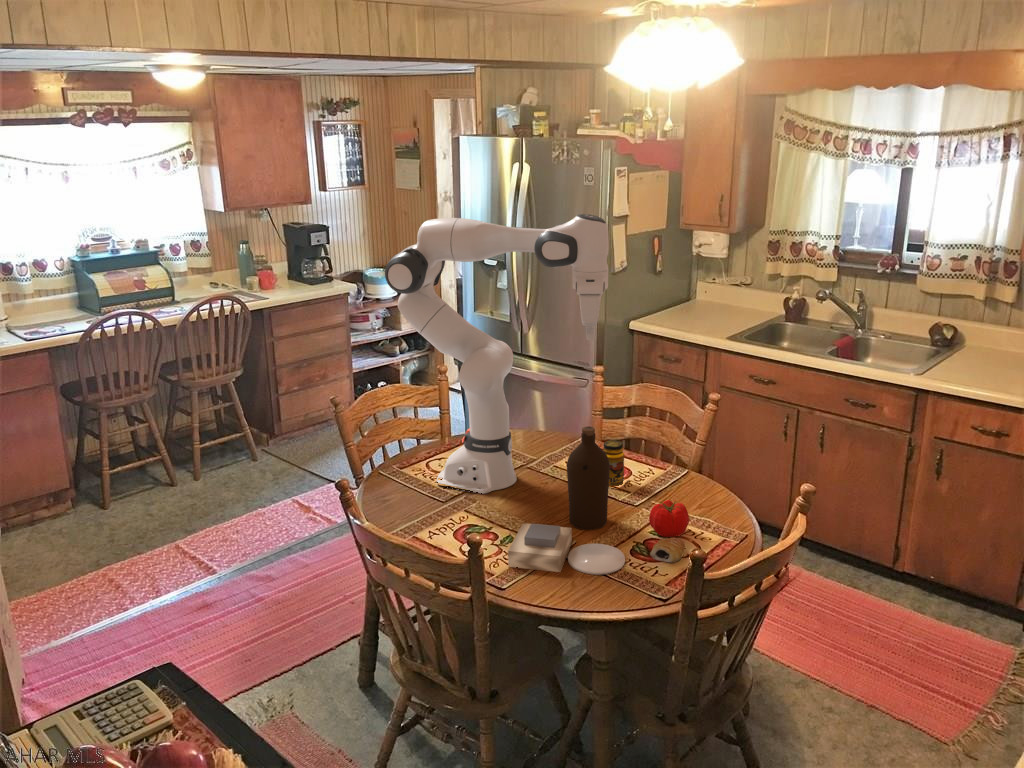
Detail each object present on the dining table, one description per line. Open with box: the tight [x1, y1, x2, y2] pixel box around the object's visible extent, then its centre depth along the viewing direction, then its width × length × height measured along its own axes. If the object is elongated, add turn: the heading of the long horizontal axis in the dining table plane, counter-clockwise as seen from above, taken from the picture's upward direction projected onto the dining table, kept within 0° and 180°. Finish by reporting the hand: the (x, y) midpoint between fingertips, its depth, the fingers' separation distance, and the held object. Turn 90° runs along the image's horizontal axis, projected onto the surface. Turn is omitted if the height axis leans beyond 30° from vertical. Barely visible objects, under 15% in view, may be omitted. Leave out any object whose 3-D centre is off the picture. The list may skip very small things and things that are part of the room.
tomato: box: [648, 499, 690, 538], centre depth 203 cm, size 9×9×8 cm
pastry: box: [649, 537, 686, 564], centre depth 194 cm, size 9×7×4 cm
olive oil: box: [566, 426, 610, 531], centre depth 207 cm, size 11×11×25 cm
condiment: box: [602, 440, 625, 486], centre depth 232 cm, size 7×8×12 cm
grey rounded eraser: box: [524, 523, 562, 548], centre depth 194 cm, size 7×7×2 cm
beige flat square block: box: [507, 523, 573, 573], centre depth 195 cm, size 12×14×4 cm
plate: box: [567, 543, 626, 576], centre depth 192 cm, size 13×13×1 cm
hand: (589, 335), depth 212 cm, fingers open, 8 cm apart
